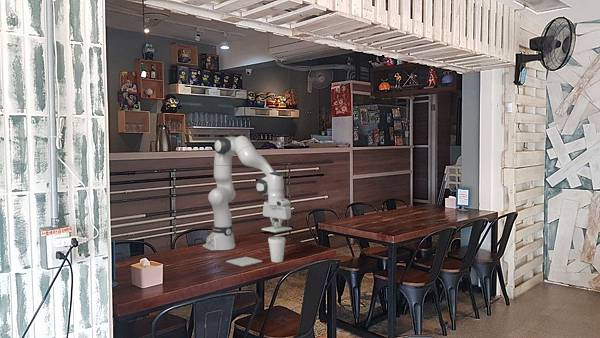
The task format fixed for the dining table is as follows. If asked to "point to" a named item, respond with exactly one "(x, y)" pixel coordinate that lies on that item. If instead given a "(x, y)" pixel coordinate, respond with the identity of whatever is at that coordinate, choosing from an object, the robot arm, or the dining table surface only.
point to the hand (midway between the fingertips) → (276, 225)
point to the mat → (244, 261)
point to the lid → (276, 228)
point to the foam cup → (276, 248)
